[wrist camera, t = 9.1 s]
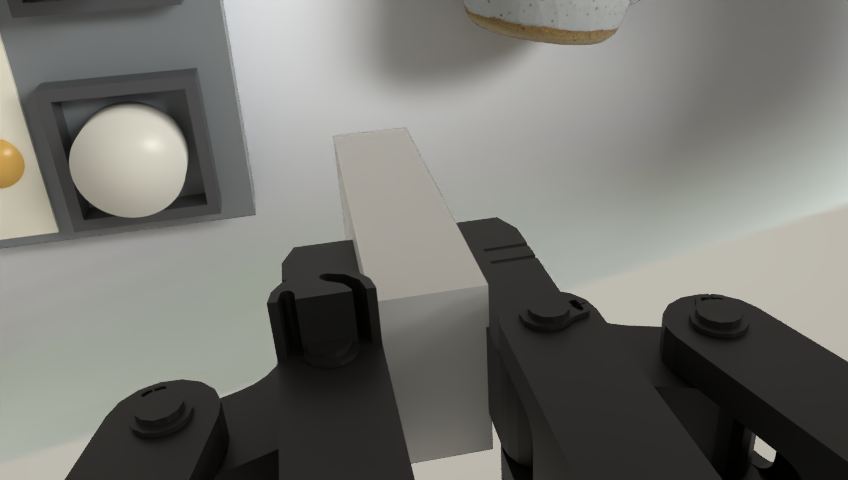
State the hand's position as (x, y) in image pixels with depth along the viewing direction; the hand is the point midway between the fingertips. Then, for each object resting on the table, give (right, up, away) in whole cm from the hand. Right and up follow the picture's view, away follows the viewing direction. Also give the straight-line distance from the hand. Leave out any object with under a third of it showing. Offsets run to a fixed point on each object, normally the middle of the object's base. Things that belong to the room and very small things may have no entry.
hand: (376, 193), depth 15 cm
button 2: (-11, +3, +16) cm, 20 cm away
